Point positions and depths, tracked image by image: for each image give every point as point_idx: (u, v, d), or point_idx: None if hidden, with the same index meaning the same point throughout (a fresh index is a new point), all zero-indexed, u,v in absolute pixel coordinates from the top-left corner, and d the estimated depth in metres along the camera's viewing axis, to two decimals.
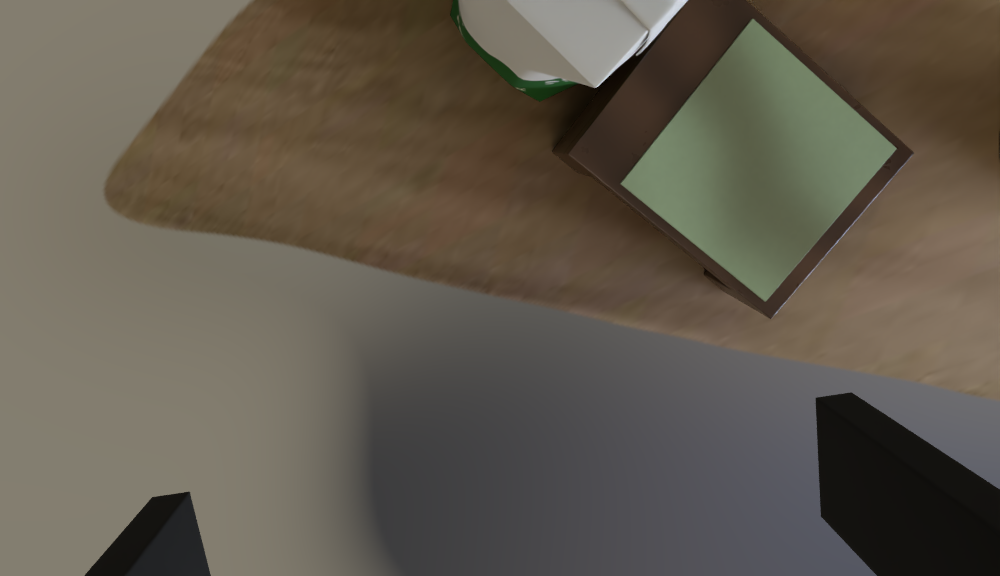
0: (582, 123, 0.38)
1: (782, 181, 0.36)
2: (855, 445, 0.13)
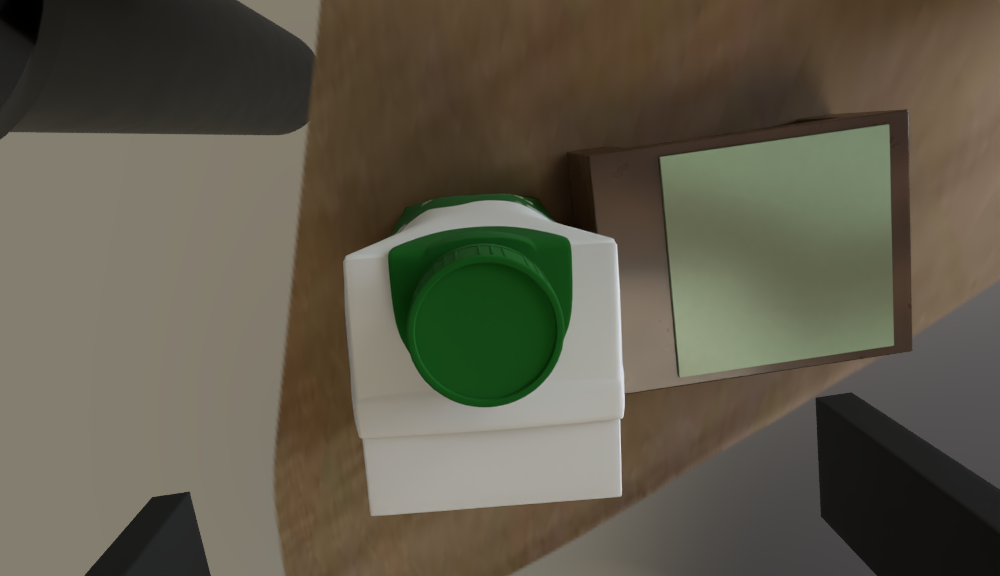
0: None
1: (813, 246, 0.31)
2: (855, 445, 0.13)
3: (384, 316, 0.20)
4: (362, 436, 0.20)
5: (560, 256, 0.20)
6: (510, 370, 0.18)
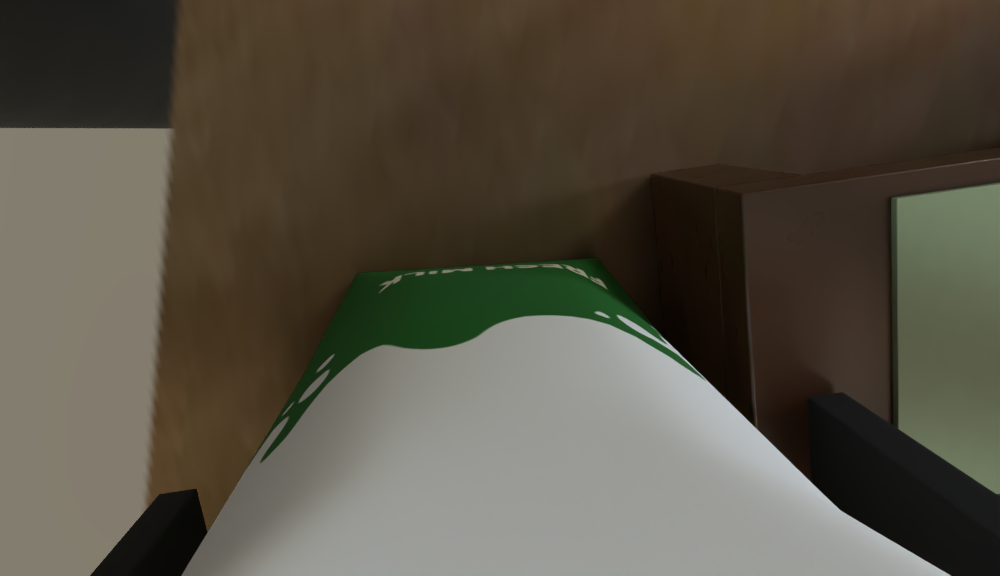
0: None
1: None
2: (845, 444, 0.13)
3: None
4: None
5: None
6: None
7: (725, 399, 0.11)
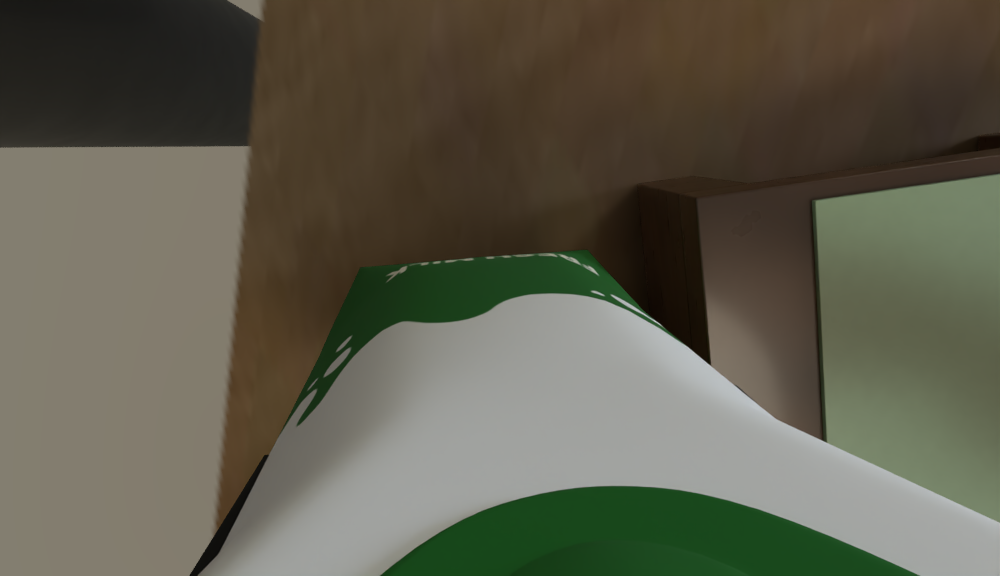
0: None
1: None
2: None
3: None
4: None
5: None
6: None
7: None
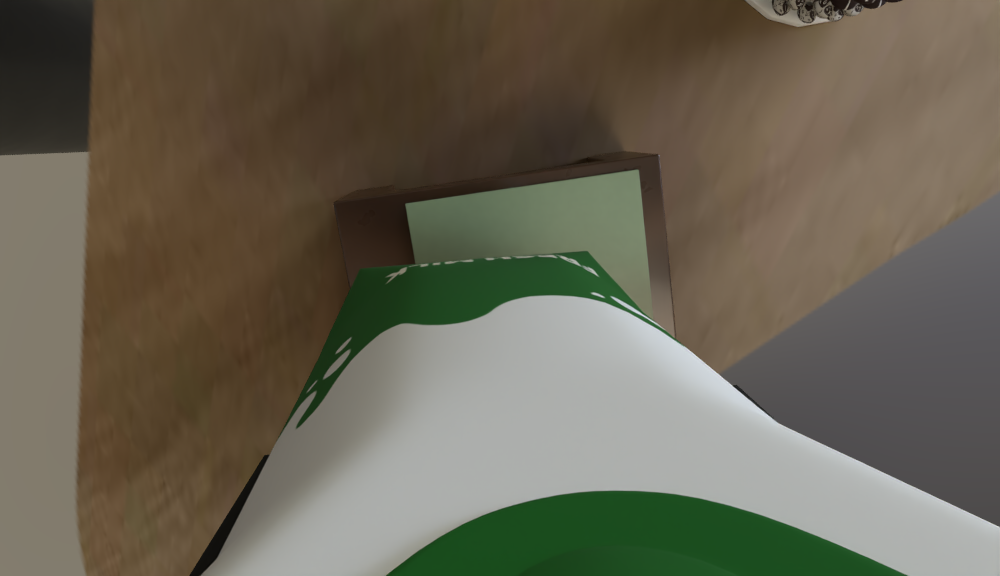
0: None
1: None
2: None
3: None
4: None
5: None
6: None
7: None
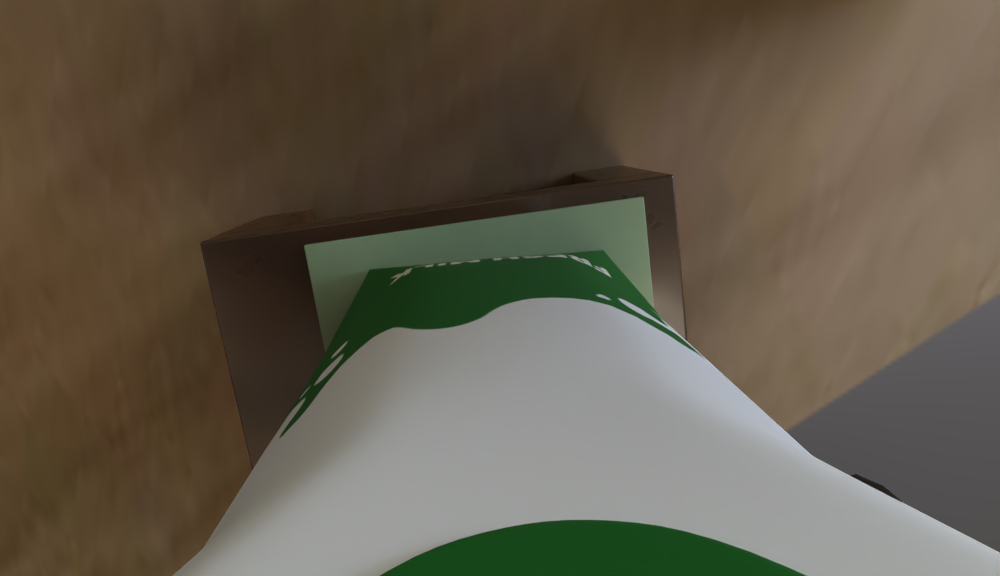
0: None
1: None
2: None
3: None
4: None
5: None
6: None
7: (723, 375, 0.12)
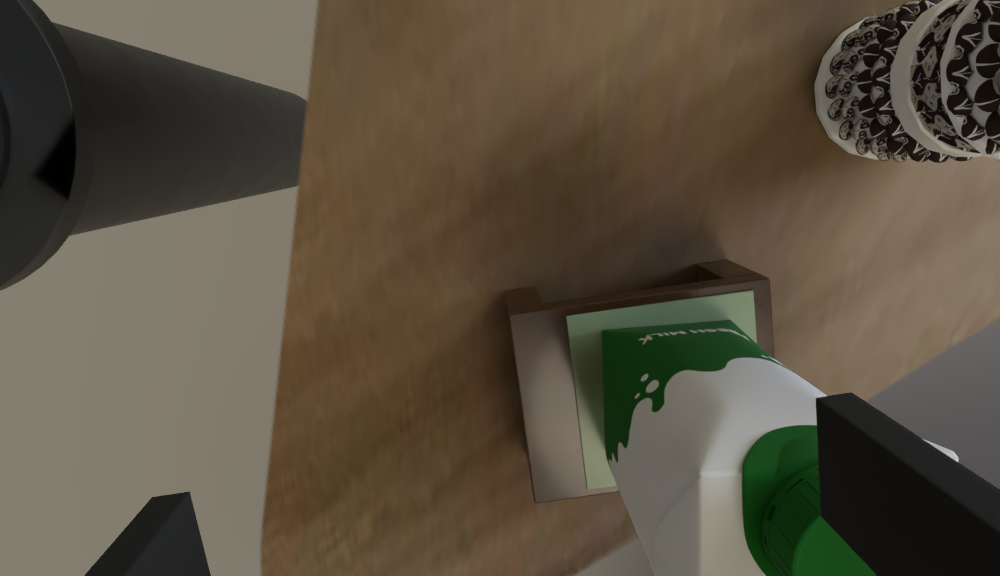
0: (526, 449, 0.42)
1: None
2: (855, 445, 0.13)
3: (734, 528, 0.20)
4: None
5: None
6: None
7: None
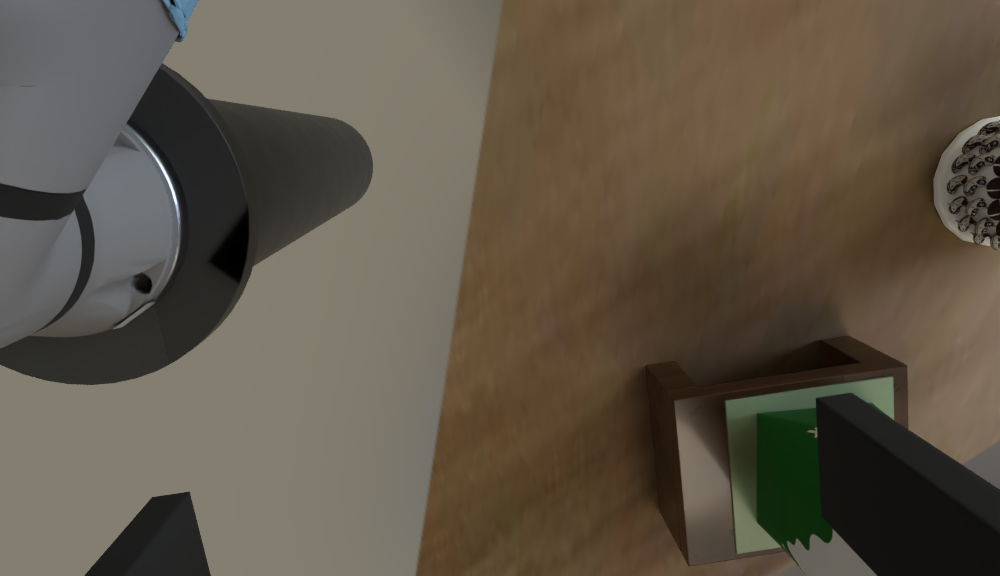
0: (671, 513, 0.46)
1: None
2: (855, 445, 0.13)
3: None
4: None
5: None
6: None
7: None
